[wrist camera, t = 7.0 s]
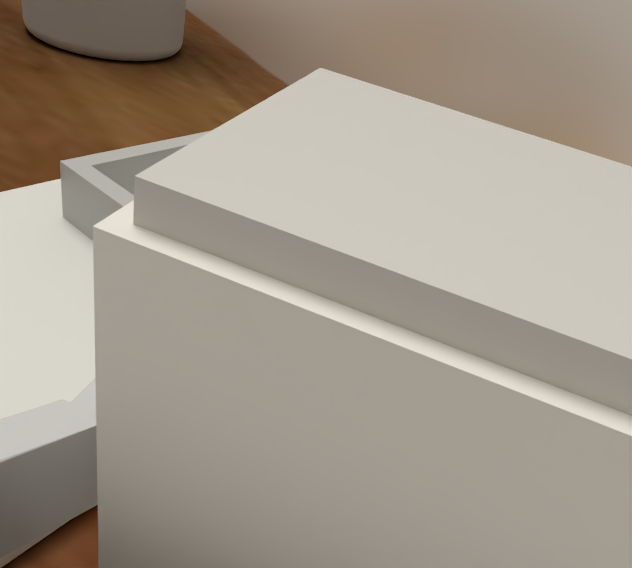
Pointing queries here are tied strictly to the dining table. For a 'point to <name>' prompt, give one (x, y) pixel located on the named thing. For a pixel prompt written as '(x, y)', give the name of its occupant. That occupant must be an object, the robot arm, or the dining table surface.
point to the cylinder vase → (109, 27)
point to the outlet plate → (58, 276)
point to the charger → (366, 345)
